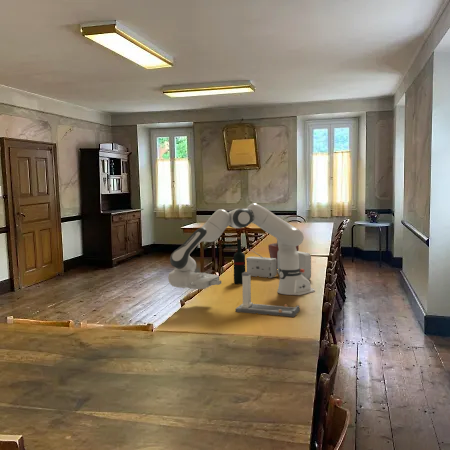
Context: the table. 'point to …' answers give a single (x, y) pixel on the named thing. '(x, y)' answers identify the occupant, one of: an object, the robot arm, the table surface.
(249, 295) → the fader tab
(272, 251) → the bucket
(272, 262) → the stereo radio cassette player
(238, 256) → the wine bottle
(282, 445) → the table surface
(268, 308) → the board
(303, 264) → the rounded white slab
